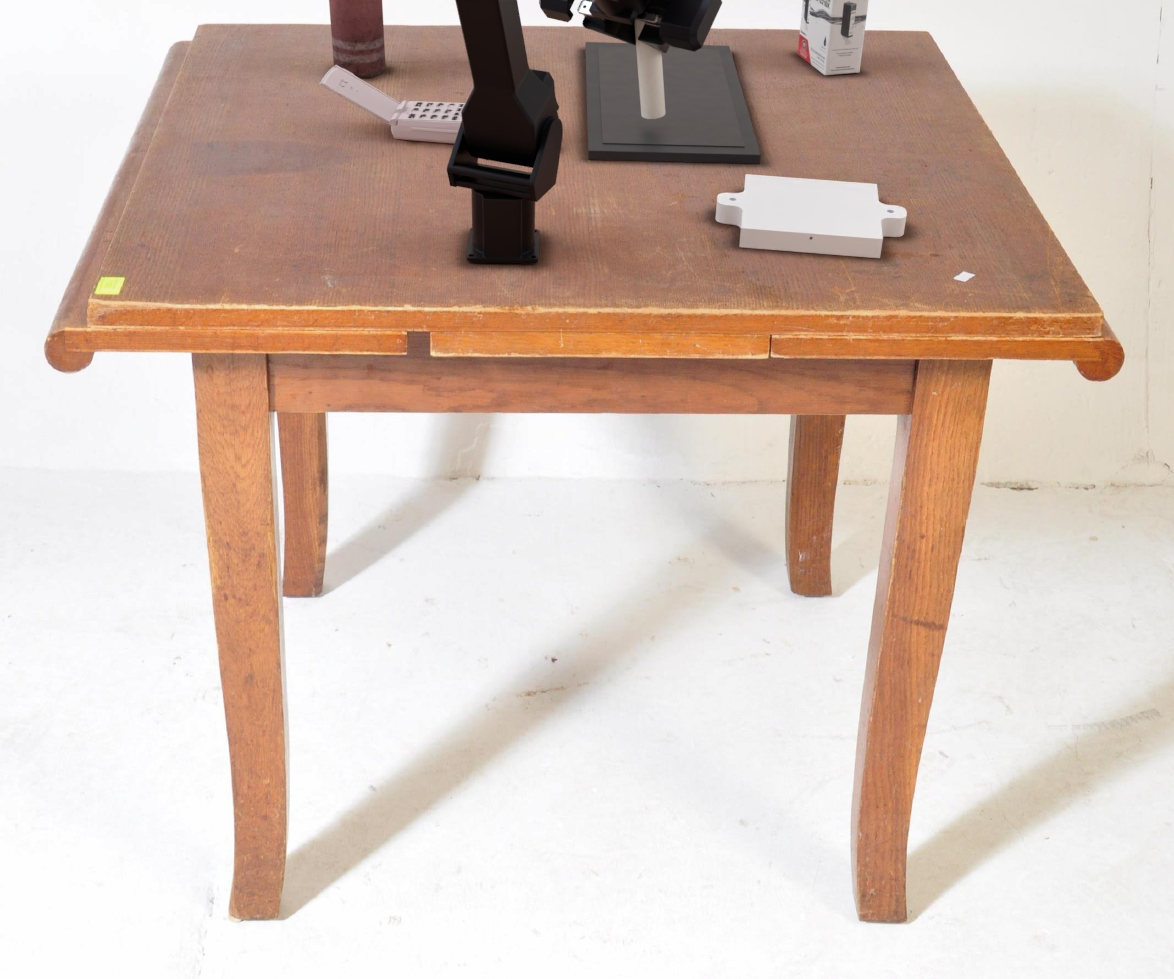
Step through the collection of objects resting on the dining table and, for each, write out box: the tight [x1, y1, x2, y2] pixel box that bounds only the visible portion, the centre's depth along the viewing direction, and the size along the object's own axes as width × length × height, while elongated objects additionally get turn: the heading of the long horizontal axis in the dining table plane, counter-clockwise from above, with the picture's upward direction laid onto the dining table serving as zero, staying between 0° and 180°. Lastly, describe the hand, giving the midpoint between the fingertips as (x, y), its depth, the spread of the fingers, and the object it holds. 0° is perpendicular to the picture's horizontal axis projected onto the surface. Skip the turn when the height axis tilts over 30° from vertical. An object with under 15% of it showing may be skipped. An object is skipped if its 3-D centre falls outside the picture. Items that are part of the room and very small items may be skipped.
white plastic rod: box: [634, 20, 665, 119], centre depth 151 cm, size 3×3×14 cm
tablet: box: [584, 41, 762, 165], centre depth 165 cm, size 36×18×1 cm, turn 1°
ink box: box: [797, 0, 870, 76], centre depth 174 cm, size 8×5×12 cm, turn 17°
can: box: [328, 0, 387, 79], centre depth 167 cm, size 6×6×14 cm
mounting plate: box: [715, 173, 908, 259], centre depth 138 cm, size 18×13×2 cm
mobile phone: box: [318, 65, 466, 145], centre depth 153 cm, size 6×6×25 cm
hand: (655, 46), depth 151 cm, fingers closed on white plastic rod, 2 cm apart
